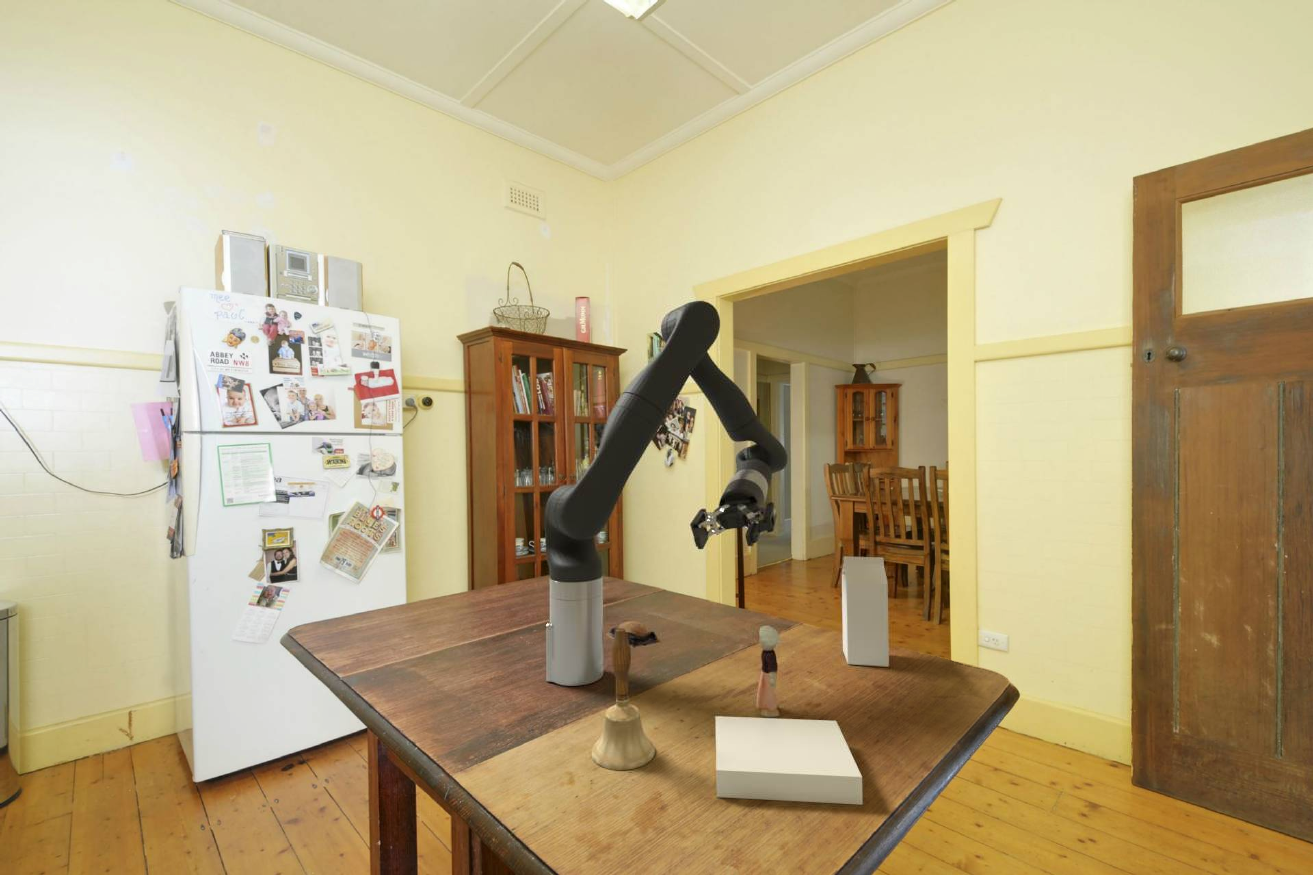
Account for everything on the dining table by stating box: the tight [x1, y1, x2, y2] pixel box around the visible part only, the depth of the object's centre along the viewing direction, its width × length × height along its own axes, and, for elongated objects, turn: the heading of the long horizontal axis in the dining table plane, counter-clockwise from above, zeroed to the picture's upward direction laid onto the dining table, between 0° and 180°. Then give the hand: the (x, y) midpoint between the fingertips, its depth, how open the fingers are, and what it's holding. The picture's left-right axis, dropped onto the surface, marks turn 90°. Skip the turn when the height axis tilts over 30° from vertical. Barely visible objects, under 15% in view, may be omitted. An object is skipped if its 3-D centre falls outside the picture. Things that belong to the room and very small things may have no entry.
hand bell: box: [590, 627, 656, 771], centre depth 73 cm, size 8×8×16 cm
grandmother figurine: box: [755, 625, 782, 718], centre depth 84 cm, size 8×4×13 cm, turn 5°
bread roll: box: [605, 620, 660, 648], centre depth 118 cm, size 11×8×4 cm
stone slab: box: [715, 715, 864, 805], centre depth 69 cm, size 16×13×3 cm
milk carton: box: [841, 555, 890, 668], centre depth 105 cm, size 7×7×19 cm
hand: (723, 543), depth 91 cm, fingers open, 8 cm apart
